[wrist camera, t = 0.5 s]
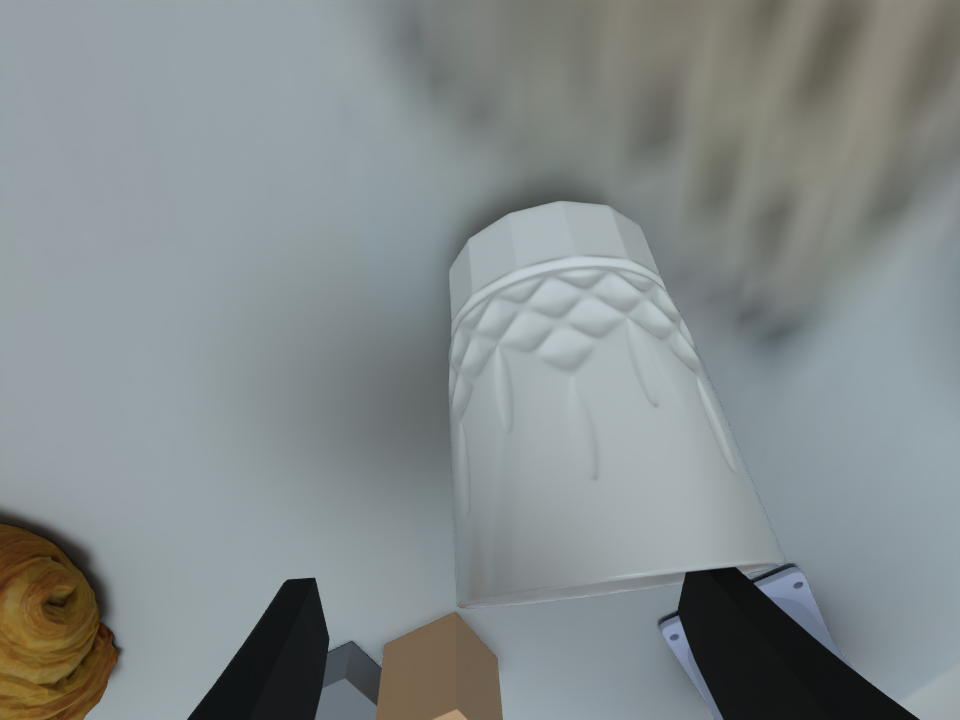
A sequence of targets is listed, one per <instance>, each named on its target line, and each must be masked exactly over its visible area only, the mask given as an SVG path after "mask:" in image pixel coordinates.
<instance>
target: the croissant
mask: <svg viewBox="0 0 960 720" xmlns="http://www.w3.org/2000/svg"><path fill="white" fill-rule="evenodd" d="M99 618H100V613H99V608H98V604H97V603H96V601H95V594H94V591H93V590H92V589H91V588H90V587H89V584H88V582H87V580H86V579H85V577H84V576H83V574H82V572H81V571H79V570H78V569H77V568H76V567H75V566H74V565H73V564H72V562H71V561H70V560H69V559H68V557H67V556H66V555H65V554H64V553H63V551H62V550H61V549H60V548H59V547H58V546H56V545H55V544H53V543H52V542H50V541H49V540H47V539H46V538H43V537H40V536H37V535H35V534H33V533H32V532H30V531H29V530H27V529H22V528H18V527H13V526H9V525H4V524H0V720H83V719H84V717H85V716H86V715H87V713H88V712H89V711H90V710H91V709H92V708H93V707H94V706H95V705H96V704H98V703H99V702H100V700H101V698H102V696H103V694H104V691H105V689H106V687H107V683H108V678H109V676H110V674H111V671H112V669H113V667H114V665H115V664H116V662H117V658H118V653H117V652H116V649H115V648H114V647H113V645H112V636H113V633H112V632H110V631H109V630H107V628H106V626H105V625H104V624H101V623H99Z"/></svg>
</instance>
